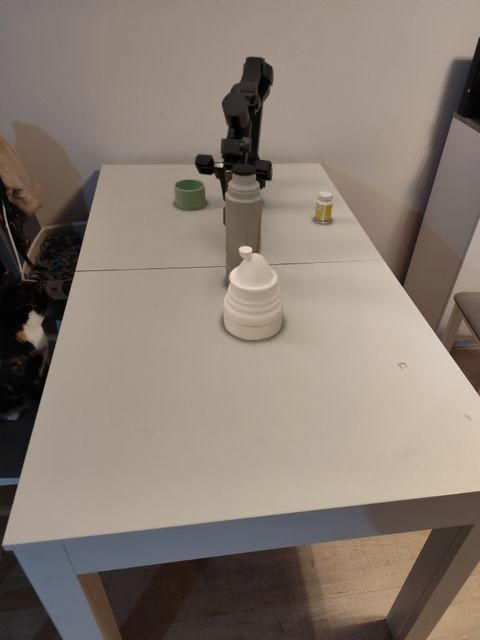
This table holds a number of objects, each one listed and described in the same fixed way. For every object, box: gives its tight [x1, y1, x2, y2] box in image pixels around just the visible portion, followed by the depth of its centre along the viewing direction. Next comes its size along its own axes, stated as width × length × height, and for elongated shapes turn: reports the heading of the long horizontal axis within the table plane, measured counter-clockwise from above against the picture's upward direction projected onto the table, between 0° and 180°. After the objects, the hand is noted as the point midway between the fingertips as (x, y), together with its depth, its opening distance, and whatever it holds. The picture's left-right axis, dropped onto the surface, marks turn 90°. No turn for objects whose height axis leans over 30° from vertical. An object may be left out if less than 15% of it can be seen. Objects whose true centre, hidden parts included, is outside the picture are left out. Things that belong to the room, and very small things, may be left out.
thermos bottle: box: [224, 164, 264, 288], centre depth 100 cm, size 8×8×28 cm
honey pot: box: [222, 246, 284, 341], centre depth 92 cm, size 13×13×18 cm
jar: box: [173, 178, 207, 211], centre depth 139 cm, size 9×9×6 cm
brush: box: [222, 171, 233, 226], centre depth 110 cm, size 4×4×13 cm
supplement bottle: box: [314, 190, 334, 225], centre depth 134 cm, size 5×5×8 cm
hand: (229, 201), depth 109 cm, fingers closed on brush, 2 cm apart
